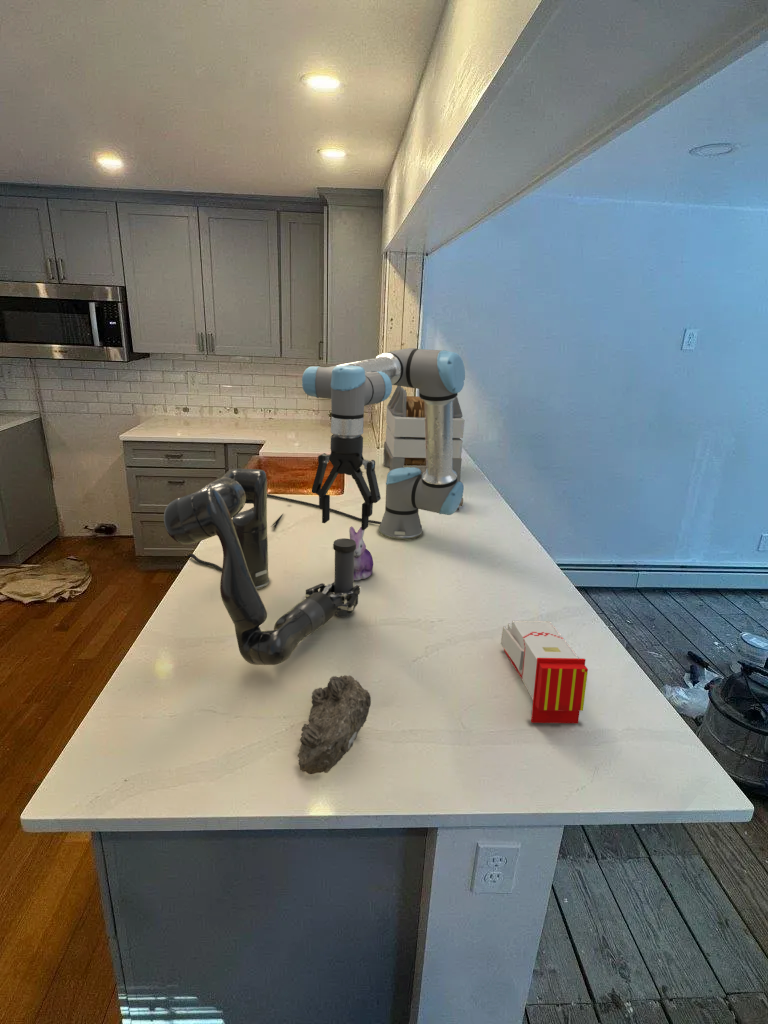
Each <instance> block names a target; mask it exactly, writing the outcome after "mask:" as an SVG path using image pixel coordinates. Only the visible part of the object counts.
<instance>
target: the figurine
mask: <svg viewBox="0 0 768 1024" xmlns="http://www.w3.org/2000/svg"><path fill="white" fill-rule="evenodd" d="M348 529H349V530H348V532H349V539H352V540H354V541H355V542H356V549H355V551H354V578H353V581H360V580H365V579H368V578H369V577H370V576H371V575H372V574H373V570H374V559H373V555H372V553H371V551H369V550H368V549H367V545H366V543H365V541H364V535H365V531H366V529H365V530H361V526H360V527H359V529H358V531H357V532H356V530H355V528H354V526H350V527H349V528H348Z"/></svg>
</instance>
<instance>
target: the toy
mask: <svg viewBox="0 0 768 1024" xmlns="http://www.w3.org/2000/svg"><path fill="white" fill-rule="evenodd" d="M500 645H501V646H502V648H503V652H504V654H505V655H506V657H507V658H508V660H509V661H510V663H511V664H512V666H513V668H514V669H515V671H516V672H517V674H518V676H519V677H520V679H521V680H522V683H523V685H524V686H525V688H526V690H527V692H528V694H529V696H530V697H531V699H532V708H531V719H530V722H531V723H532V724H579V719H580V712H583V711H584V706H585V697H586V689H587V680H588V671H589V669H588V667H587V666H586V659H585V658H580V657H579V656H578V655H577V654H576V652H575V651H574V650H573V648H572V647H571V646H570V645H569V644H568V642H567V641H566V640H565V638H564V637H563V636H562V634H561V633H560V632H559V631H558V630H557V628H556V627H555V626H554V624H553V623H552V622H551V621H549V620H548V621H545V620H540V621H539V620H511V622H508V623H507V626H502V632H501V638H500Z"/></svg>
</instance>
